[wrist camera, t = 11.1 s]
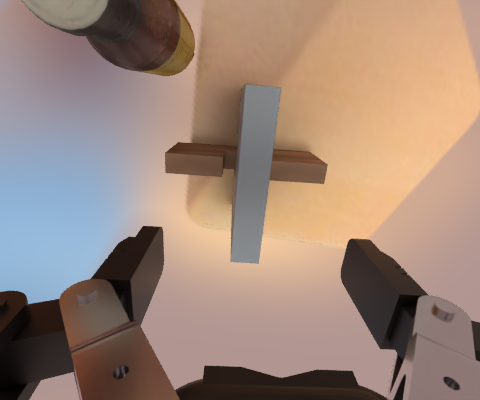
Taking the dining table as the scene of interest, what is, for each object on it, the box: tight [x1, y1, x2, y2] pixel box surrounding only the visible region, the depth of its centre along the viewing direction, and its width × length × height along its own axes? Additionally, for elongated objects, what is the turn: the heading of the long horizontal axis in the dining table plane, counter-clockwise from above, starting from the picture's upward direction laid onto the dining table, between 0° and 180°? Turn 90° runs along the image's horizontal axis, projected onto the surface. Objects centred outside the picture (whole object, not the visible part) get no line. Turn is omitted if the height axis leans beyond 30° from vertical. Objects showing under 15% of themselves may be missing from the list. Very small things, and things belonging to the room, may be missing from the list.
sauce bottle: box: [22, 0, 195, 76], centre depth 19 cm, size 7×6×20 cm
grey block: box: [231, 84, 281, 263], centre depth 27 cm, size 14×2×13 cm, turn 175°
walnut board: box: [165, 142, 327, 184], centre depth 30 cm, size 2×16×6 cm, turn 85°
